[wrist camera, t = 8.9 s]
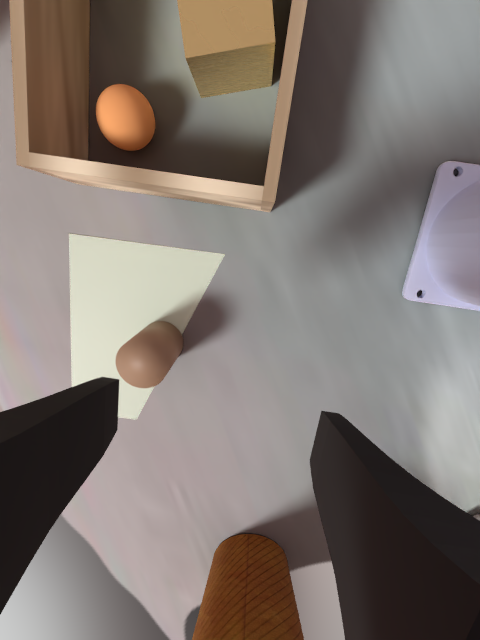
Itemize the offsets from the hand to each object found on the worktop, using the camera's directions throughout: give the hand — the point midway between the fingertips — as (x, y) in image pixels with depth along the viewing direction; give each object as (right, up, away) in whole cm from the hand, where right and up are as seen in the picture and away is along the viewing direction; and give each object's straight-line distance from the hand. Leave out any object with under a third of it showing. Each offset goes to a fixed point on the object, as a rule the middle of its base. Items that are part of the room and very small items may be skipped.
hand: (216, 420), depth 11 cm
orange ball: (-5, +15, +7) cm, 17 cm away
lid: (-5, +2, +11) cm, 12 cm away
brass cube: (0, +18, +6) cm, 19 cm away
